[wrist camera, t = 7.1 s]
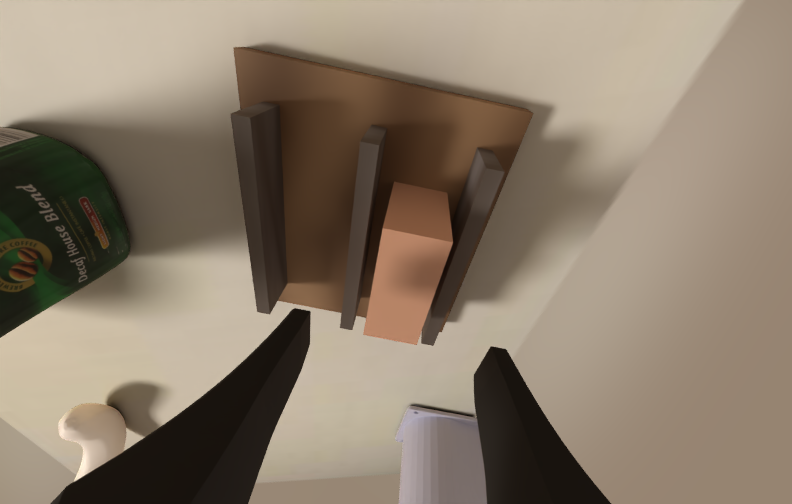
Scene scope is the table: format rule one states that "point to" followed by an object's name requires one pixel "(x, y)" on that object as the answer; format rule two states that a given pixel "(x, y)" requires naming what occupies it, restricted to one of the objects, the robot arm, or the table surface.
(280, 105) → the slot rack
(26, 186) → the coffee jar
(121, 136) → the table surface
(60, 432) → the banana
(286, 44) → the table surface
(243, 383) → the robot arm
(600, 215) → the table surface
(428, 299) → the salmon rectangular prism
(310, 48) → the table surface
